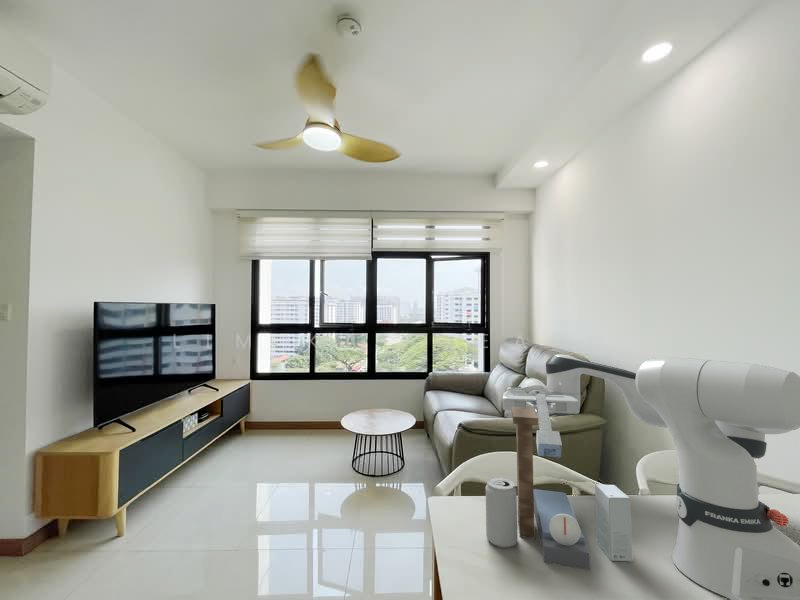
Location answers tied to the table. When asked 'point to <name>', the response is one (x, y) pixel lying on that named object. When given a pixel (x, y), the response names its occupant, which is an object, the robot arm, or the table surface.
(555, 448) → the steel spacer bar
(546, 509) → the platform scale
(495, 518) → the beverage can
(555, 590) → the table surface
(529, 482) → the walnut post stand
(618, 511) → the skincare box
